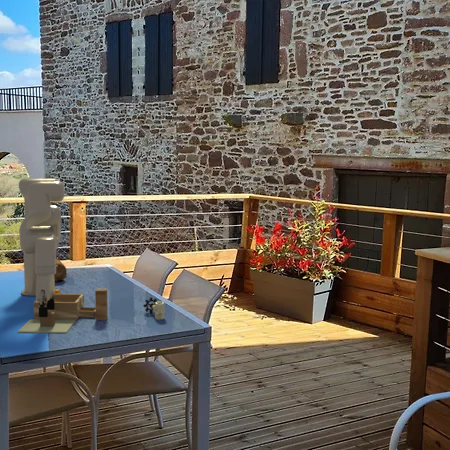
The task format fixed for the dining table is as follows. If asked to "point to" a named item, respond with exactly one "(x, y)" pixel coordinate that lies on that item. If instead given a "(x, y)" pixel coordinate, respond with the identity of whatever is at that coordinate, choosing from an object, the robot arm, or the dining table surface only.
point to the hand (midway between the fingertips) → (46, 313)
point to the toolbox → (68, 307)
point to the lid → (47, 325)
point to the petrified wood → (60, 271)
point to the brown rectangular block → (101, 304)
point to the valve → (155, 308)
